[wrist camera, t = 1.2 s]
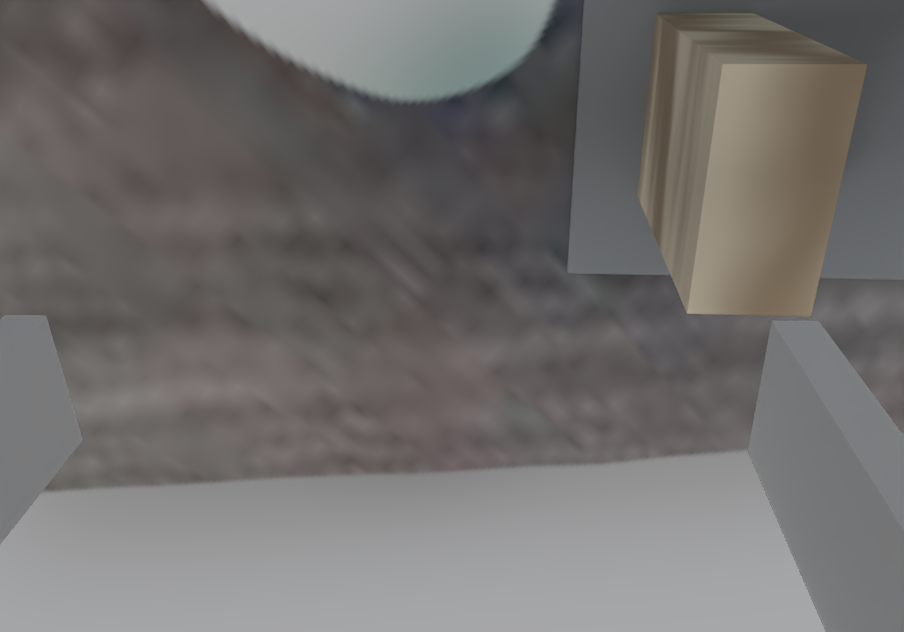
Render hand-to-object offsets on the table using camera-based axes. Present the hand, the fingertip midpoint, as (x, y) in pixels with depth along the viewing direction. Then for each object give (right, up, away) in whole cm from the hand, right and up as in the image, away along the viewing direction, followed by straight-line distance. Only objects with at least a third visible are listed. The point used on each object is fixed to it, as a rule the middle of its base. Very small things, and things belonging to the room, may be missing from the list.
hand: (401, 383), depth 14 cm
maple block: (+11, +10, +21) cm, 26 cm away
